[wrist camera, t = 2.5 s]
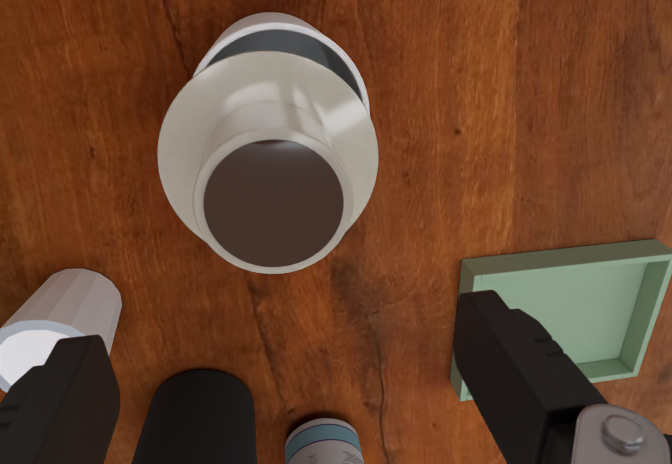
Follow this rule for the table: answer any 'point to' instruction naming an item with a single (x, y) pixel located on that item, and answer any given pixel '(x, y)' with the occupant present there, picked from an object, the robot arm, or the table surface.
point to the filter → (268, 159)
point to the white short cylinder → (57, 320)
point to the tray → (581, 300)
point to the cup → (286, 45)
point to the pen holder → (199, 422)
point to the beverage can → (323, 443)
